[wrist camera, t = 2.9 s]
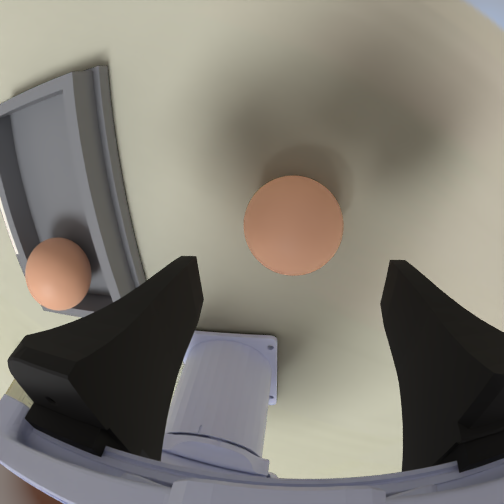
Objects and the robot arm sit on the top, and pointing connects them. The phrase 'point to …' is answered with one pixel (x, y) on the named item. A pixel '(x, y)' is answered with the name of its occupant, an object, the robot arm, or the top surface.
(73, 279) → the resting terracotta ball
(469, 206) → the top surface
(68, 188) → the grey rimmed tray
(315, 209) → the terracotta ball
